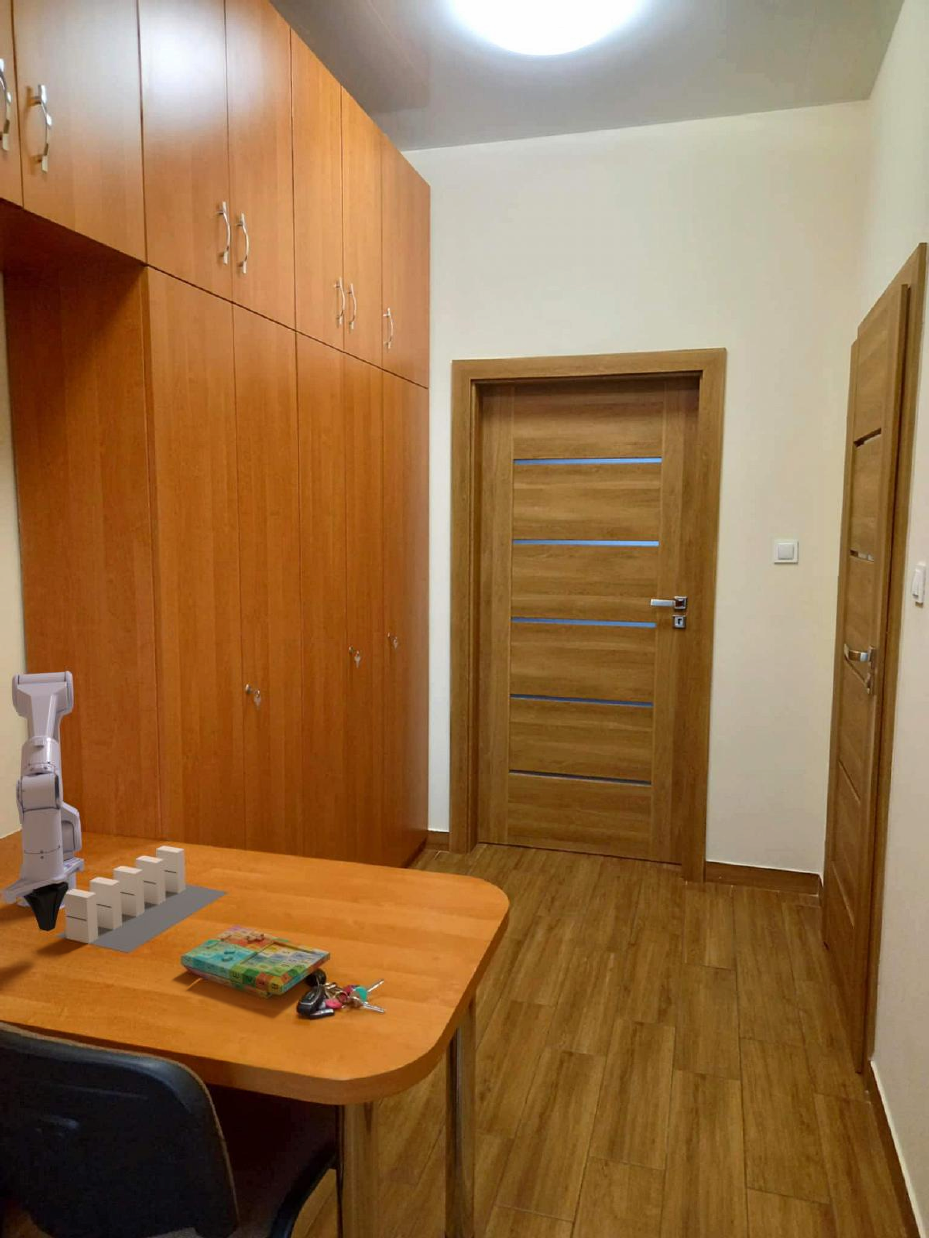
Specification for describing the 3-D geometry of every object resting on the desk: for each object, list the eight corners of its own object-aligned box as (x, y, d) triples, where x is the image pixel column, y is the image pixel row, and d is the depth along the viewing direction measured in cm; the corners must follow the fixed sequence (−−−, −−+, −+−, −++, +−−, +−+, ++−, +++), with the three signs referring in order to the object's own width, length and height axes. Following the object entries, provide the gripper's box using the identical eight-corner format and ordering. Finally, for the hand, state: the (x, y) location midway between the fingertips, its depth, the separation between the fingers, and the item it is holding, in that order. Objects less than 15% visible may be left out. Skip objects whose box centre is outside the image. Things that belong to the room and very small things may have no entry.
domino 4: (157, 904, 163) (156, 862, 162) (137, 900, 165) (135, 859, 164) (165, 900, 165) (164, 859, 164) (145, 896, 167) (143, 855, 166)
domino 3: (136, 916, 158) (134, 873, 158) (115, 912, 160) (113, 869, 159) (144, 912, 160) (142, 869, 159) (123, 907, 162) (121, 865, 161)
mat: (55, 938, 151) (55, 935, 151) (162, 882, 175) (162, 879, 175) (128, 956, 145) (128, 952, 145) (228, 895, 169) (228, 892, 169)
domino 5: (178, 893, 168) (176, 852, 168) (157, 889, 170) (156, 849, 170) (185, 889, 170) (184, 849, 169) (165, 885, 172) (163, 845, 171)
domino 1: (88, 943, 148) (86, 897, 147) (66, 938, 150) (64, 893, 149) (98, 938, 150) (96, 892, 149) (76, 933, 152) (73, 888, 151)
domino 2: (113, 929, 153) (111, 885, 152) (91, 924, 155) (89, 880, 154) (122, 924, 155) (120, 880, 154) (100, 919, 157) (98, 876, 156)
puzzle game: (233, 920, 148) (330, 947, 139) (234, 947, 149) (330, 975, 139) (180, 950, 138) (281, 981, 129) (181, 978, 138) (282, 1011, 129)
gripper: (22, 867, 134) (27, 952, 135) (96, 836, 147) (100, 914, 148) (-11, 860, 136) (-6, 944, 138) (64, 830, 150) (68, 907, 151)
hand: (47, 928), depth 143 cm, fingers closed
